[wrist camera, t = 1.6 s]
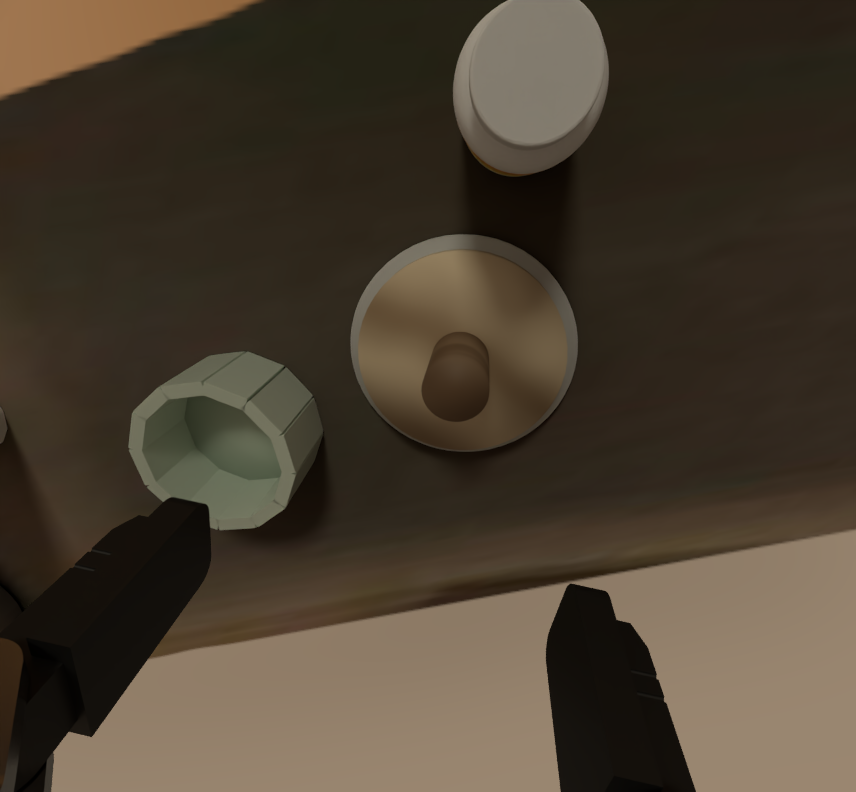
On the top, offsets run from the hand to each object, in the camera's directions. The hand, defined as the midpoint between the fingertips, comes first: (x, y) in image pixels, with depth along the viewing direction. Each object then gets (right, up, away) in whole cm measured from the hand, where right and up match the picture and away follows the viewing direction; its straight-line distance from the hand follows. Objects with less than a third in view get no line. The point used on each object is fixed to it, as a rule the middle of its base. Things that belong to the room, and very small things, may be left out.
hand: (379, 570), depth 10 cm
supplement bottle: (+5, +17, +13) cm, 22 cm away
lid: (+3, +6, +17) cm, 18 cm away
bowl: (-11, +2, +21) cm, 24 cm away
